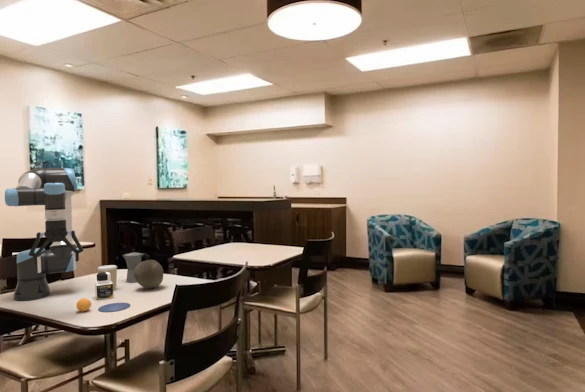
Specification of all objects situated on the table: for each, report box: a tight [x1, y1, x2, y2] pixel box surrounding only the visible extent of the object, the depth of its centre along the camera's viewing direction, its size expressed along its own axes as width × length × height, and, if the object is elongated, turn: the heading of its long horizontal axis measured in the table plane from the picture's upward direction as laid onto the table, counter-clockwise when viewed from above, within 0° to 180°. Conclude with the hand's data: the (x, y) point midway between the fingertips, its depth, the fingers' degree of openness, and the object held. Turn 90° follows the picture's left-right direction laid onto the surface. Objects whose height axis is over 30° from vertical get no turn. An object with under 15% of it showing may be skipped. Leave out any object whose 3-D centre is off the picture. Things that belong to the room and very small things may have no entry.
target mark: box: [97, 302, 131, 313], centre depth 175 cm, size 13×13×1 cm
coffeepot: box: [121, 248, 150, 284], centre depth 224 cm, size 15×9×18 cm, turn 88°
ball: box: [76, 297, 92, 313], centre depth 171 cm, size 6×6×6 cm
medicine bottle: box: [94, 272, 114, 301], centre depth 192 cm, size 7×7×12 cm
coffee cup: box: [97, 264, 118, 291], centre depth 206 cm, size 9×9×12 cm
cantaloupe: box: [134, 259, 164, 290], centre depth 206 cm, size 14×14×15 cm
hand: (57, 270), depth 167 cm, fingers open, 12 cm apart
